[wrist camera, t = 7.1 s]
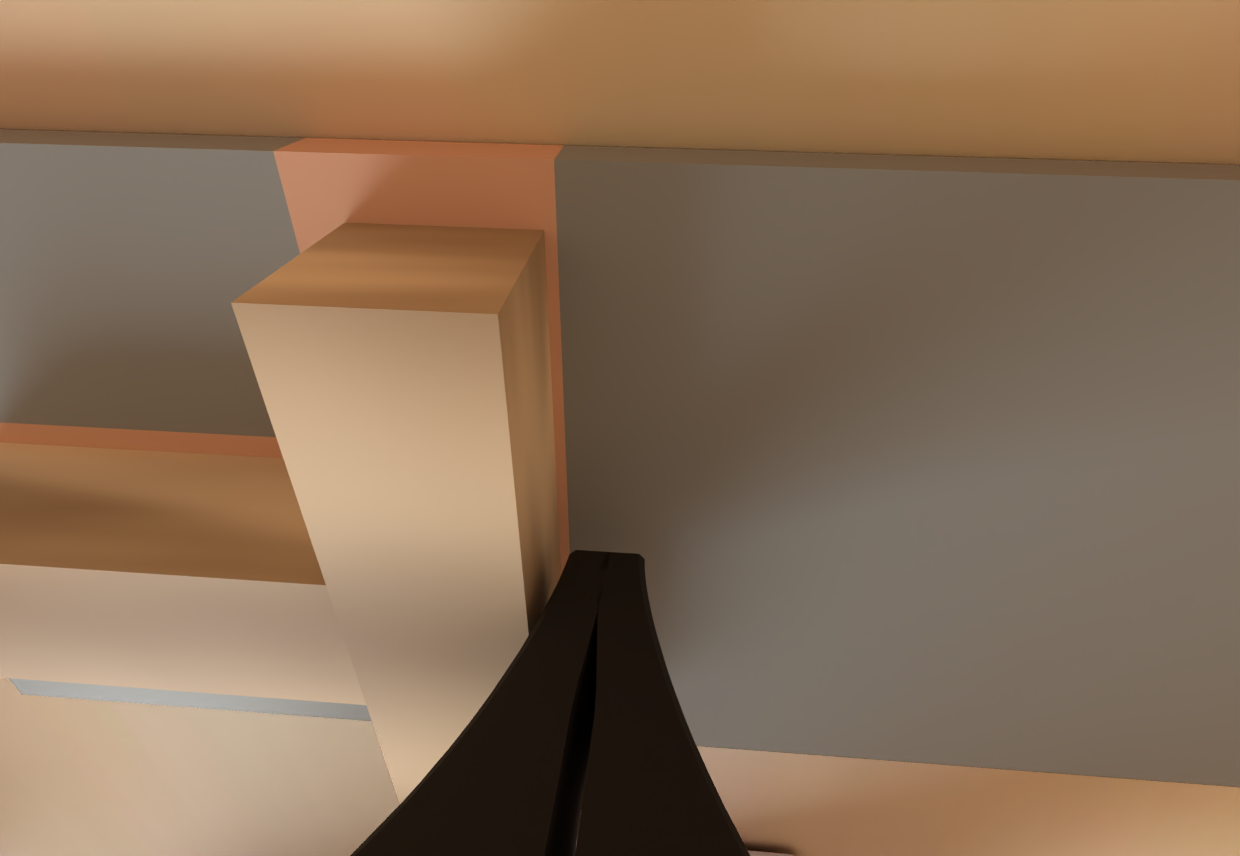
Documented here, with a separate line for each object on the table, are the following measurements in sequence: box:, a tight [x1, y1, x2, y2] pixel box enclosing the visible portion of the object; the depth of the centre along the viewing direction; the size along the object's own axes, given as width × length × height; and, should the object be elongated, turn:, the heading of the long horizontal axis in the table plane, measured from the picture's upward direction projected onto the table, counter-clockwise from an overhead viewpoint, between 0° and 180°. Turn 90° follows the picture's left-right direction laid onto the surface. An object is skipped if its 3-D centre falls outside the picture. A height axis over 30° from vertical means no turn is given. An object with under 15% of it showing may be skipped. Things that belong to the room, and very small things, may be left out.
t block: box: [0, 223, 561, 804], centre depth 12 cm, size 12×11×3 cm
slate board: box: [0, 129, 1240, 787], centre depth 13 cm, size 14×32×1 cm, turn 90°
